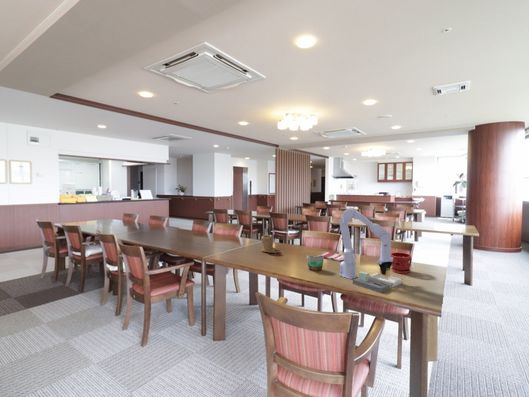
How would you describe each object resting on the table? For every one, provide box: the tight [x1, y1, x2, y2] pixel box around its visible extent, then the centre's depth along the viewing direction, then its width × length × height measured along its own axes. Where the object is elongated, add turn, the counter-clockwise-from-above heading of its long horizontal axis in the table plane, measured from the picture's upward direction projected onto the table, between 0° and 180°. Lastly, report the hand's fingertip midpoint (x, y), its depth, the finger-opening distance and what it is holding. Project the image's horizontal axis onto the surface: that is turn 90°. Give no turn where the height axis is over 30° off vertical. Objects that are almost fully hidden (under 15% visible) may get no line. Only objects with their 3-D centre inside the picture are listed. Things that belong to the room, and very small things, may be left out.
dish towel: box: [317, 251, 344, 263], centre depth 228 cm, size 17×23×3 cm
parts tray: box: [369, 272, 403, 288], centre depth 172 cm, size 16×12×2 cm
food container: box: [306, 254, 325, 272], centre depth 194 cm, size 12×6×10 cm, turn 82°
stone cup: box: [261, 234, 281, 254], centre depth 245 cm, size 15×12×15 cm
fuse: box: [358, 270, 370, 282], centre depth 168 cm, size 5×3×7 cm, turn 38°
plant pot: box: [390, 251, 412, 275], centre depth 192 cm, size 13×13×12 cm
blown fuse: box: [379, 267, 391, 280], centre depth 172 cm, size 5×3×7 cm, turn 38°
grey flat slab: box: [352, 277, 390, 294], centre depth 165 cm, size 18×9×2 cm, turn 38°
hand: (385, 273), depth 172 cm, fingers closed on blown fuse, 3 cm apart
